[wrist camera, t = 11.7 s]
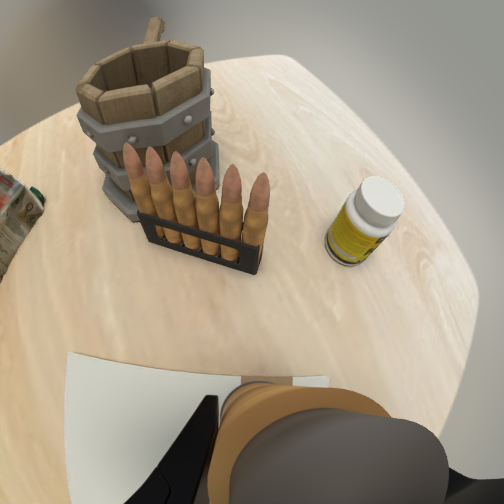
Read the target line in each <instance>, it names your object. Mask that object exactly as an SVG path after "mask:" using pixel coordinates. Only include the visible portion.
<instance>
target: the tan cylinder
mask: <svg viewBox="0 0 504 504" xmlns="http://www.w3.org/2000/svg"><path fill="white" fill-rule="evenodd" d="M448 480H449V466H448V460H447V456H446V453H445V450H444V448H443V446H442V444H441V443H440V441H439V440H438V438H437V437H436V436H435V435H434V434H433V433H432V432H431V431H429V430H428V429H427V428H425V427H423V426H421V425H419V424H417V423H415V422H412V421H408V420H405V419H397V418H391V416H390V415H389V414H388V413H387V412H386V411H385V409H384V408H383V407H381V406H380V405H379V404H378V403H376V402H375V401H373V400H372V399H370V398H368V397H366V396H364V395H362V394H359V393H356V392H353V391H349V390H345V389H338V388H324V387H305V386H292V385H280V384H275V383H272V382H267V381H251V382H247V383H244V384H242V385H240V386H238V387H236V388H235V389H234V390H232V391H231V392H230V393H229V394H228V396H227V397H226V399H225V400H224V402H223V405H222V408H221V412H220V425H219V429H218V434H217V438H216V442H215V447H214V451H213V455H212V460H211V464H210V468H209V472H208V483H207V487H208V496H209V499H210V503H211V504H443V501H444V499H445V495H446V491H447V487H448Z"/></svg>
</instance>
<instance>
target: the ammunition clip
mask: <svg viewBox="0 0 504 504" xmlns="http://www.w3.org/2000/svg"><path fill="white" fill-rule="evenodd" d="M123 158H124V164H125V168H126V171H127V174H128V178H129V181H130V187H131V191H132V194H133V196H134V199H135V201H136V203H137V206H138V208H139V210H140V211H139V210H138V211H137V215H138V218H139V220H140V222H141V225H142V227H143V229H144V232H145V234H146V236H147V239H148V241H149V242H151V243H154V244H158V245H161V246H164V247H167V248H170V249H173V250H176V251H179V252H182V253H185V254H188V255H192V256H195V257H198V258H201V259H204V260H207V261H211V262H214V263H217V264H220V265H223V266H227V267H230V268H233V269H236V270H240V271H243V272H246V273H249V274H253V275H255V274H257V270H258V267H259V264H260V261H261V258H262V250H263V243H264V237H265V232H266V228H267V224H268V206H269V197H270V185H269V180H268V177H267V175H266V174H265V173H261V174H260V175H259V176H258V177H257V179H256V181H255V182H254V185H253V187H252V190H251V193H250V200H249V203H248V208H247V210H246V212H245V215H244V222H243V206H242V196H241V192H242V187H241V179H240V175H239V172H238V170H237V168H236V166H235V165H233V164H232V165H230V167H229V168H228V169H227V171H226V174H225V177H224V181H223V186H222V198H221V205H220V209H219V202H218V198H217V195H216V189H215V182H214V177H213V172H212V169H211V167H210V164H209V163H208V161H207V160H206V159H205V158H204V157H203V158H201V159H200V161H199V163H198V166H197V170H196V198H195V193H194V191H193V189H192V186H191V182H190V179H189V173H188V170H187V167H186V164H185V162H184V160H183V158H182V157H181V155H180V154H179V153H178V152H176V151H175V152H174V153H173V155H172V158H171V163H170V175H171V182H172V187H171V185H170V183H169V181H168V178H167V175H166V173H165V169H164V166H163V164H162V161H161V159H160V157H159V156H158V154H157V153H156V151H155V150H154V149H153V148H152V147H148V148H147V151H146V170H147V175H148V177H147V175H146V172H145V170H144V168H143V165H142V163H141V160H140V158H139V156H138V154H137V153H136V151H135V150H134V148H133V147H132V146H131V145H130V144H129V143H125V144H124V148H123ZM242 231H243V232H242ZM241 234H242V241H241Z"/></svg>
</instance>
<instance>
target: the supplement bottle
mask: <svg viewBox="0 0 504 504" xmlns="http://www.w3.org/2000/svg"><path fill="white" fill-rule="evenodd" d="M404 207H405V202H404V198H403V195H402V194H401V192H400V190H399V189H398V188H397V187H396V186H395V185H394V184H393V183H392V182H390V181H389V180H387V179H385V178H382V177H379V176H370V177H367V178H366V179H364V180H363V181H362V183H361V185H360V186H359V188H358V189H357V190H355V191H354V192H352V193H351V194H350V195H349V197H348V198H347V200H346V201H345V203H344V205H343V207H342V208H341V210H340V212H339V213H338V215H337V217H336V218H335V220H334V222H333V223H332V225H331V226H330V228H329V230H328V232H327V234H326V239H325V243H326V248H327V250H328V252H329V254H330V255H331V256H332V258H333V259H335V260H336V261H337V262H339V263H341V264H343V265H347V266H355V265H358V264H360V263H362V262H363V261H364V260H365V259H366V258H367V257H368V256H369V255H370V254H371V253H372V252H373V251H374V250H375V249H376V248H377V247H378V246H379V245H380V244H381V242H382V241H383V240H384V239H385V238H386V237H387V236H388V235H389V234H390V233H391V232H392V230H393V229H394V226H395V222H396V221H397V220H398V218H399V217H400V215H401V214H402V213H403V211H404Z"/></svg>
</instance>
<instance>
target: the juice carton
mask: <svg viewBox="0 0 504 504" xmlns="http://www.w3.org/2000/svg"><path fill="white" fill-rule="evenodd" d="M4 171H5V170H1V169H0V283H1V280H2V277H3V275H4V274H5V273H6V272H7V268H8V266H9V264H10V262H11V260H12V258H13V257H14V255H15V253H16V252H17V250H18V248H19V247H20V245H21V244H22V242H23V241H24V239H25V237H26V236H27V235H28V233H29V232H30V230H31V229H32V227H33V225H34V224H35V223H36V221H37V219H38V218H39V217H40V216H41V215H42V213H43V211H44V206H43V201H44V197H43V195H42V194H41V193H40V192H39V190H37V189H36V188H34V187H31V188H30V189H28V188H27V186H26V185H25V184H23V183H22V182H21V181H20V180H18V179H15V178H14V177H13V175H11V174H9V173H7V174H6V173H5V172H4Z"/></svg>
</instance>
